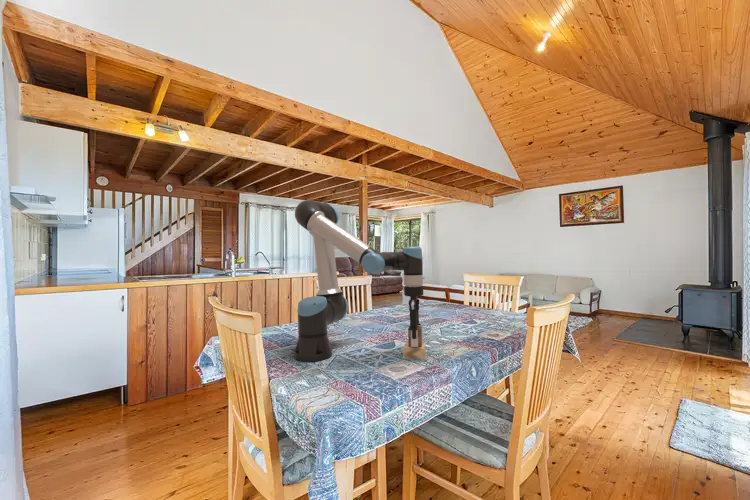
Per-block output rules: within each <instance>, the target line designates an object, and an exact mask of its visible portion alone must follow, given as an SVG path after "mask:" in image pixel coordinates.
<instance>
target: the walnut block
mask: <svg viewBox="0 0 750 500" xmlns="http://www.w3.org/2000/svg"><path fill="white" fill-rule="evenodd" d="M417 328H418V329H417V330H418V347H422V342H423V326H422V325H420V326H417ZM409 329H410V325H409V326H408V329H407V330H408V331H407V333H408V334H407V337H408V340H407V342H408V345H409V347H411V330H409Z"/></svg>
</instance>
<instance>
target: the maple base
mask: <svg viewBox="0 0 750 500" xmlns="http://www.w3.org/2000/svg"><path fill="white" fill-rule="evenodd" d="M426 346H427V345H426V342H425V341H424V342H423V341H422V347H409V345H408V341H405V343H404V345H403V354H404V358H413V359H412V360H420V359H425V354H426V352H427V349H426Z"/></svg>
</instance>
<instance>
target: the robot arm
mask: <svg viewBox="0 0 750 500" xmlns="http://www.w3.org/2000/svg"><path fill="white" fill-rule="evenodd" d="M294 219H295V220H296V222H297V223H298V224H299V226H301V227H302V228H303V229H305V230H306V231H308V232H309V234H310V235H311V236H312V237H313V245H314V255H315V263H316V272H317V273H316V274H317V281H318V283H317V284H318V289H319V290H318V291H317V292H316V294H315V296H308V297H304V298H302V299H300V301H298V303H297V326H298V327H297V329H298V331H297V332H298V338H297V341H296V345H295V349H294V353H293V354H294V359H295V358H296V359H297V360H296V359H295V360H296V361H299V360H300V361H299V362H304V361H314V362H318V361H323V360H327V359H329V358H330V357H332V356H333V347H332V344H331V342H330V340H329V337H328V326H329V325H331V324H333V323H337V322H339V321H341V320H342V319H344V318H345V317H346V315H347V314H348V312H349V302H348V299H347V298H345V296H344V295H343V290H342V289H341V288H340V287H339V281H338V274H337V273H338V271H337V264H336V255H335V248H337V249H338V250H340V251H341V252H342V253H344V254H345V255H347V256H349V257H350V258H351V259H353V260H354V261H355V262H357V263H358V264H360V265H361V268H362V269H363V271H364V272H366V273H367V274H373V275H375V274H380V273H384V272H390V271H403V286H404V287H403V293H404V296H405V297H409V298H410V299H409V300H408V307H409V308H408V309H409V326H410V329H409V330H411V347H418V330H417V329H418V328H417V326H422V325H421V324H422V323H421V322H420V318H419V317H420V312H419V311H420V299H419V298H418V297H422V296H423V295H424V286H423V284H424V280H425V277H424V276H423V274H424V273H423V272H424V269H423V267H424V266H423V264H424V263H423V261H424V260H423V259H424V257H423V250H422V247H421V246H403V248H402V251H381V252H379V251H377V250H376V249H374V248H373V247H372V246H370V245H368V244H367V243H366V242H364V241H363V240H361V239H360V238H358V237H356V236H355V235H353V234H352V233H350V232H349V231H347V230H346V229H345V228H342V226H340V225H338V223H339V213H338V210H337V208H335V206H333V205H332V204H329V203H327V202H323V201H318V200H317V201H316V200H311V199H306V200H303V201H302V200H301V202H299V203H298V204H297V206H296V207H295V210H294Z"/></svg>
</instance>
